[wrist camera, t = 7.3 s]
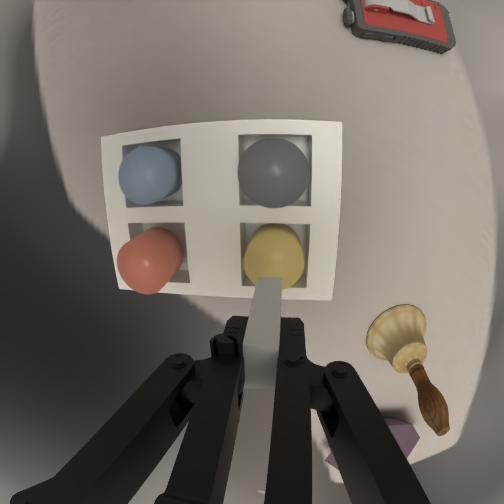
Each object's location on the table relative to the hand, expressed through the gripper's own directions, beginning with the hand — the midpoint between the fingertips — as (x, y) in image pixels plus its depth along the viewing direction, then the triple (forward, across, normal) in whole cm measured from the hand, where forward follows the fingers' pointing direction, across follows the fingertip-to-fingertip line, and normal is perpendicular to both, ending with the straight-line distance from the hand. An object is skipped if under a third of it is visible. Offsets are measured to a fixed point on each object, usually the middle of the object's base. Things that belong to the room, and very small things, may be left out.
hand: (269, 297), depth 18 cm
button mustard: (+10, 0, 0) cm, 10 cm away
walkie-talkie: (+13, +10, +26) cm, 31 cm away
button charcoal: (+8, 0, +7) cm, 11 cm away
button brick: (+8, -11, 0) cm, 14 cm away
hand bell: (+12, +16, -12) cm, 23 cm away
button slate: (+10, -11, +7) cm, 17 cm away
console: (+12, -6, +3) cm, 14 cm away
